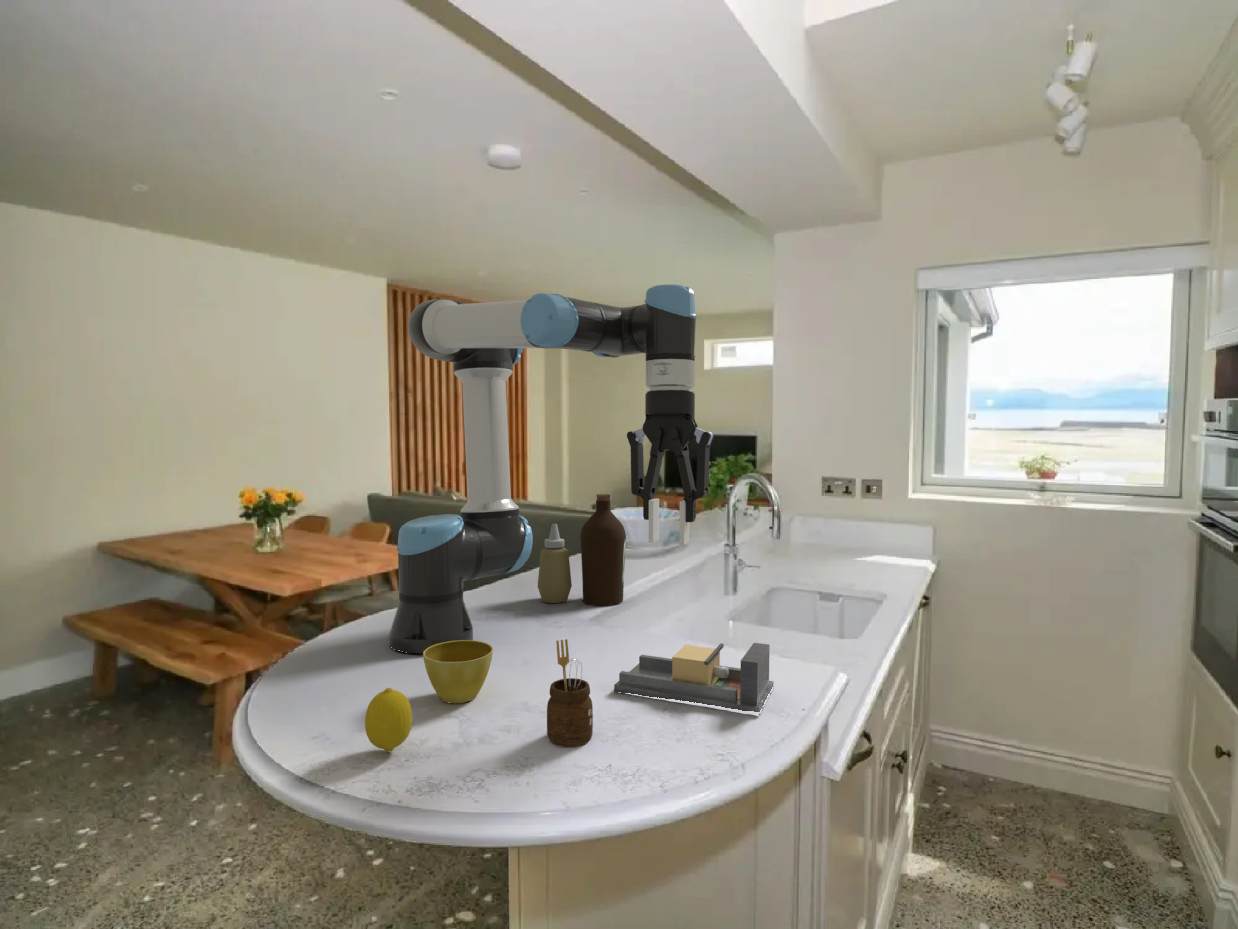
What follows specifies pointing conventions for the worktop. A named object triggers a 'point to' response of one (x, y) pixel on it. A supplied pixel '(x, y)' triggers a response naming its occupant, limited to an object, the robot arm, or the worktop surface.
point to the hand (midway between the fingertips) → (669, 541)
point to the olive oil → (603, 556)
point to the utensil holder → (569, 707)
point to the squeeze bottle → (554, 569)
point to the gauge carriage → (698, 664)
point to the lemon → (388, 719)
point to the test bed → (734, 692)
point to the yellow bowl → (458, 668)
